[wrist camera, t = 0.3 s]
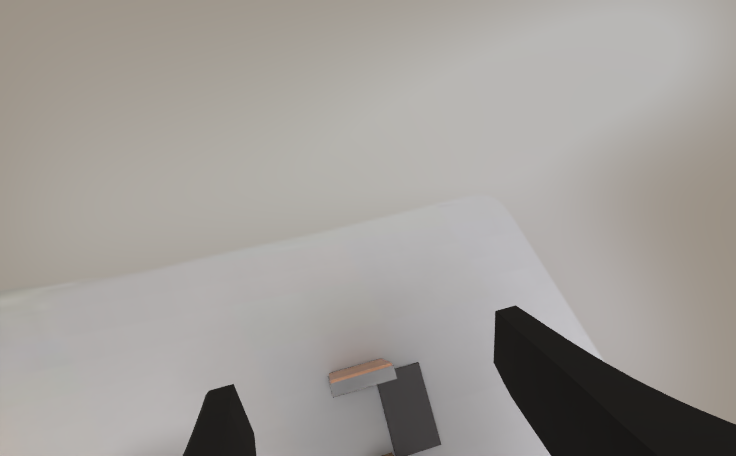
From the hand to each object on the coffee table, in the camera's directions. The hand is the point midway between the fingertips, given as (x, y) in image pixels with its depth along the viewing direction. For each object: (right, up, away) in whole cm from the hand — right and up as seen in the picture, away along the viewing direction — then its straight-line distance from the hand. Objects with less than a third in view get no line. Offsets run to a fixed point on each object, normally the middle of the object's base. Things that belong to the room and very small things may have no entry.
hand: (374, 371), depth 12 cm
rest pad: (+3, -12, +27) cm, 30 cm away
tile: (-1, -9, +27) cm, 29 cm away
